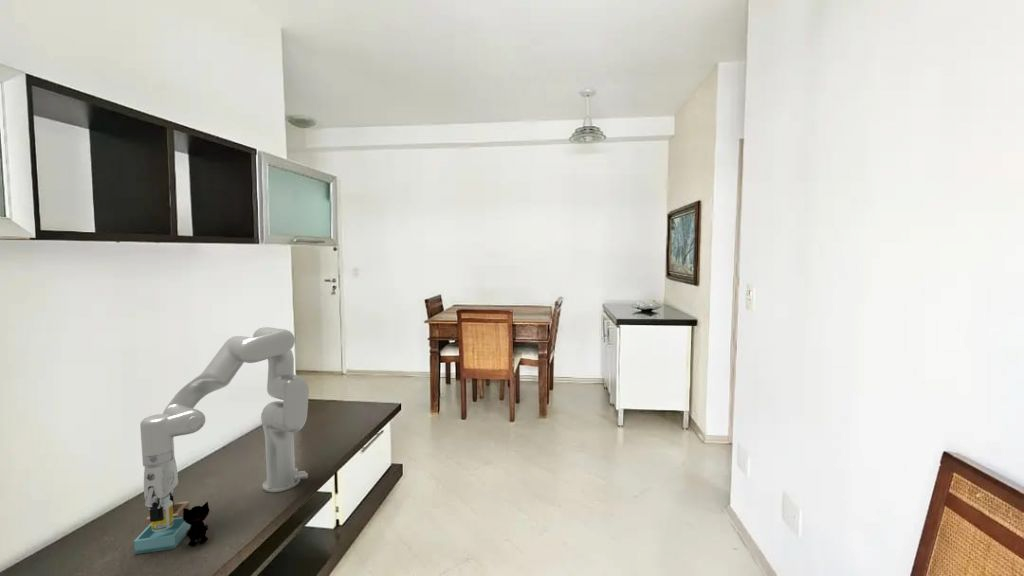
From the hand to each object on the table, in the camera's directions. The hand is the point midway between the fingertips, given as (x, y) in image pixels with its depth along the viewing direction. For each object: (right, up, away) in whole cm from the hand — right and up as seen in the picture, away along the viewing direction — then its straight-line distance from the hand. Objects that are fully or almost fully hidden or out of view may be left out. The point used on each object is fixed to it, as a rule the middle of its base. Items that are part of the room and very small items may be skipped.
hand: (162, 514), depth 136 cm
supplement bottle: (0, -4, 0) cm, 4 cm away
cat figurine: (+11, -9, 0) cm, 14 cm away
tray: (0, -8, +1) cm, 8 cm away
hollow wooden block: (-7, -8, +11) cm, 15 cm away
